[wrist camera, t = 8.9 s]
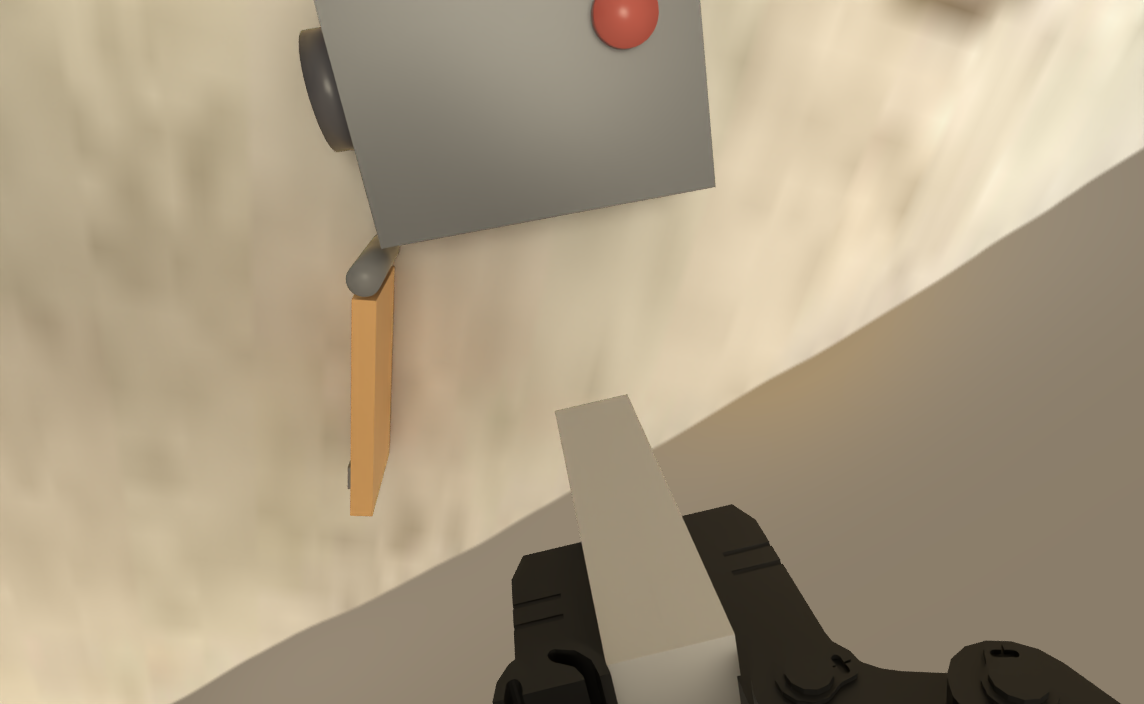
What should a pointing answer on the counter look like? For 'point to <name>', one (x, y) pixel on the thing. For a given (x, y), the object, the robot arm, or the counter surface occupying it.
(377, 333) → the side door
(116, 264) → the counter surface
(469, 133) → the camera body
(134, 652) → the counter surface
